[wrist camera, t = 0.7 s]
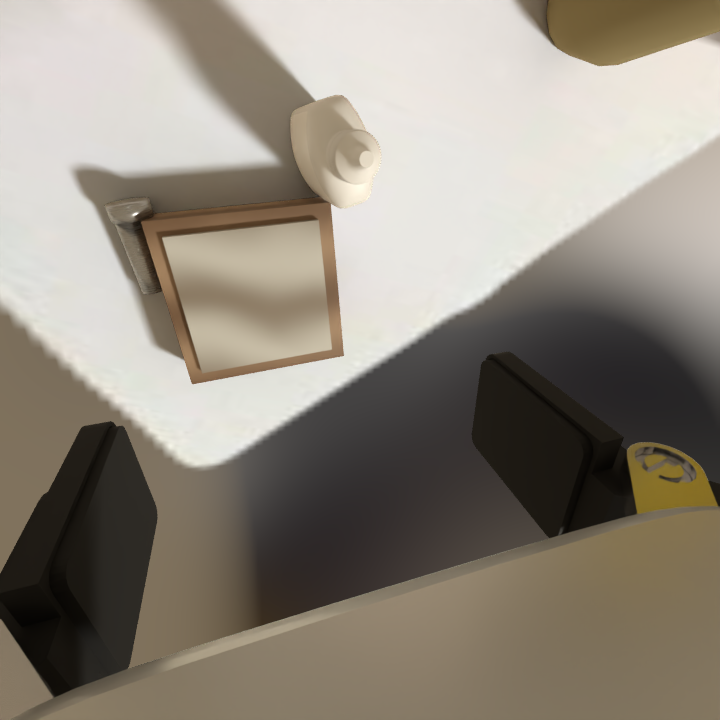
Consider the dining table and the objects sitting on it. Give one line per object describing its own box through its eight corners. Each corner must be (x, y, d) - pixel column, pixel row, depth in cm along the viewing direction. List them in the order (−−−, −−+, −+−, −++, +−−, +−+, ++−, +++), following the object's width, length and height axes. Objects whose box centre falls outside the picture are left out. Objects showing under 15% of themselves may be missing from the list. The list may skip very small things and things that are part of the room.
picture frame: (148, 214, 27) (139, 223, 24) (321, 196, 30) (331, 203, 27) (194, 365, 33) (191, 387, 30) (335, 340, 36) (345, 358, 33)
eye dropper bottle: (280, 186, 29) (309, 213, 19) (292, 96, 26) (332, 71, 16) (339, 199, 30) (394, 230, 20) (354, 114, 28) (426, 102, 18)
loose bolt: (94, 207, 25) (129, 206, 24) (124, 198, 27) (157, 196, 26) (132, 296, 28) (164, 298, 27) (156, 282, 30) (186, 283, 29)
